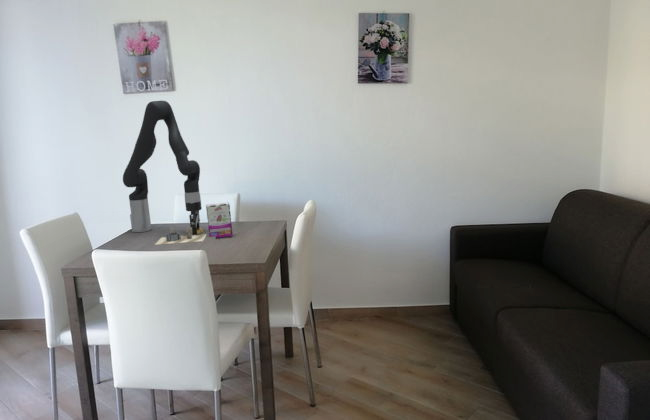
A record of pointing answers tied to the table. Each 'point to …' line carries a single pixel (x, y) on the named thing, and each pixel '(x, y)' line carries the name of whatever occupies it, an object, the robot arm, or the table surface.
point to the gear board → (182, 237)
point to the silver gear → (173, 237)
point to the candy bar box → (219, 220)
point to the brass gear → (198, 230)
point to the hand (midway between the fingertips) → (196, 232)
